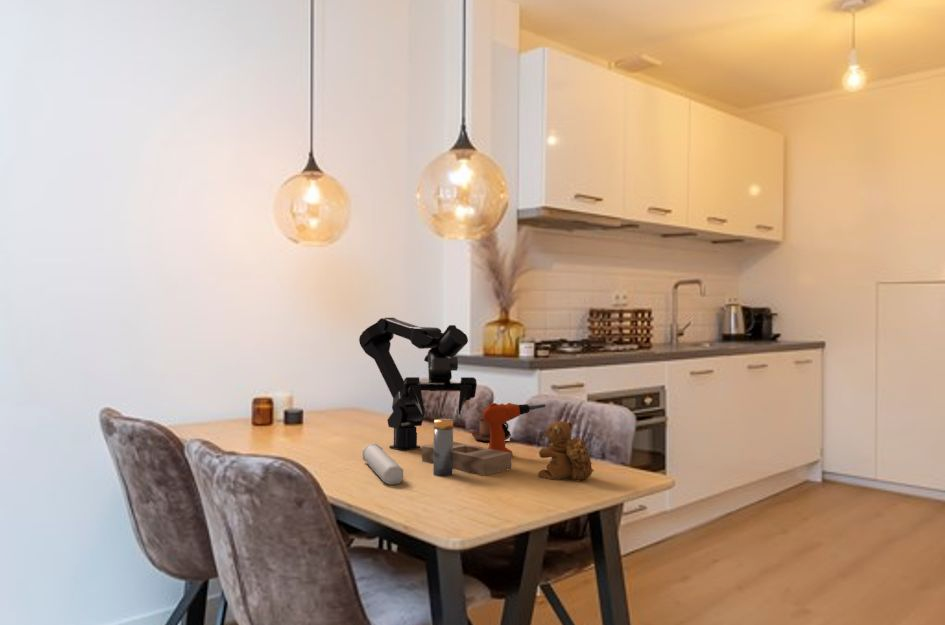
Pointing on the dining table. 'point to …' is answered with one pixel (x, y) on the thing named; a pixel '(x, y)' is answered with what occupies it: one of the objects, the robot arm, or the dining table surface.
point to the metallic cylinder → (443, 447)
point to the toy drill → (503, 421)
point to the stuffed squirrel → (565, 454)
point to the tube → (383, 464)
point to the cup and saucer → (485, 432)
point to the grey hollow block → (473, 458)
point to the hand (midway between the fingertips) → (441, 413)
